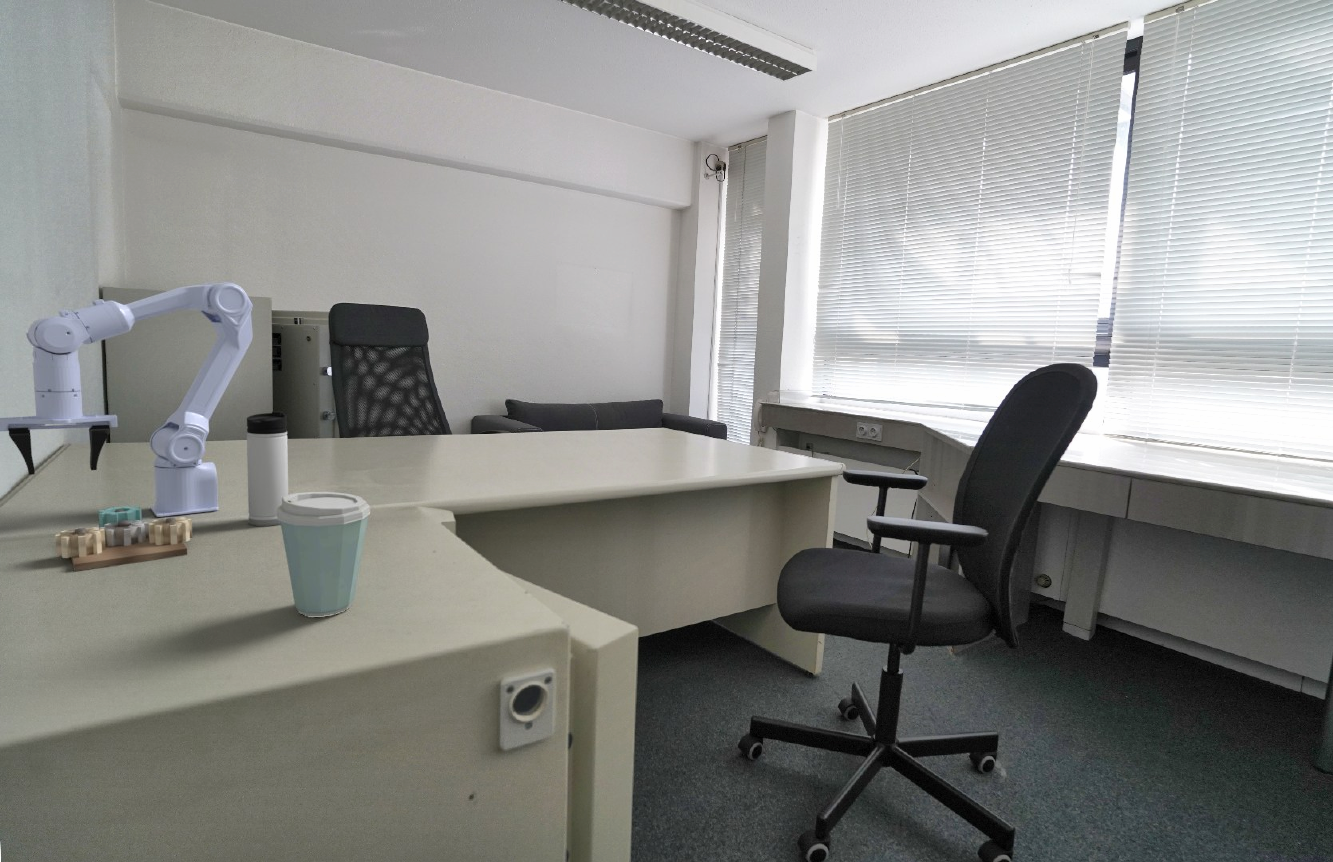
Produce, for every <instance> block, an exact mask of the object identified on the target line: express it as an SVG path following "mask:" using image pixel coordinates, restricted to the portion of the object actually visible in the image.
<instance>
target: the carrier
mask: <svg viewBox="0 0 1333 862" xmlns="http://www.w3.org/2000/svg"><path fill="white" fill-rule="evenodd" d="M115 512H124V510H123V509H120V510H115ZM192 521H193V520H192V519H191V518H186V516H185V517H183V516H180V517H171V516H169V517H164V518H163V519H155V520H152V521H151V523H149V522H148V521H145V522H143V519H142V520H136V521H131V520H123V521H119V522H117V523H112V524H109V523H108V524H105V525H104V527H100V529H99V526H97V527H95V526H93V527H86V528H85V527H76V528H74V529H71V530H69V529H68V530H63V531H59V533H57V534H55V537H54V538H55V550H56V552H55V553H56V557H60V556H61V558H63V559H69V558H70V560H71V563H72V567H73V570H74V572H78V571H79V570H80V571H87V570H92V568H94V569H101V568H105V567H106V568H107V567H113V566H120V564H121V565H126V564H133V563H134V564H135V563H141V562H146V561H152V560H153V561H154V560H159V559H167V558H168V559H169V558H173V557H180V556H188V547H187V546H186V545H185V544H184V543H185V542H186V543H187V542H189V541H190V540H191V539H192V538H193V523H192ZM80 571H79V572H80Z"/></svg>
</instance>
